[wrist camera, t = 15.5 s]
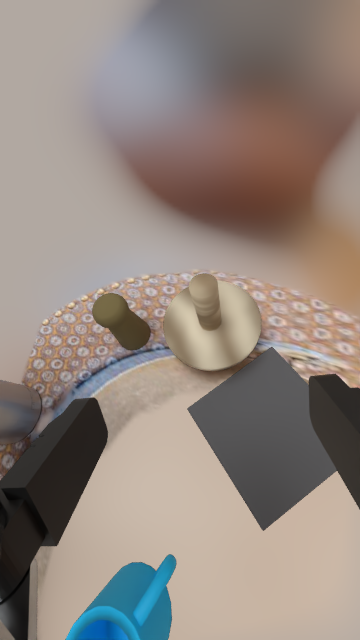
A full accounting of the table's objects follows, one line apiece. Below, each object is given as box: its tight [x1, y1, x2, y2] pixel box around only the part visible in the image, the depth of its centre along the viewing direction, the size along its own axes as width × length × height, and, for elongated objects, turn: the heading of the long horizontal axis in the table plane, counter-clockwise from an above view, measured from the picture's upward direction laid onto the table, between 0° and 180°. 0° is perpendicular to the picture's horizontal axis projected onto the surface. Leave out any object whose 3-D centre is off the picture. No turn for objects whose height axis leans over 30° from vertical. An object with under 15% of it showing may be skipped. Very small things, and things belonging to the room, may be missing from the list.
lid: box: [163, 274, 261, 371], centre depth 30 cm, size 14×14×10 cm
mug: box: [65, 554, 176, 640], centre depth 23 cm, size 12×8×8 cm
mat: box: [188, 347, 337, 531], centre depth 31 cm, size 16×16×1 cm
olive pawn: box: [92, 293, 150, 350], centre depth 37 cm, size 6×6×11 cm
